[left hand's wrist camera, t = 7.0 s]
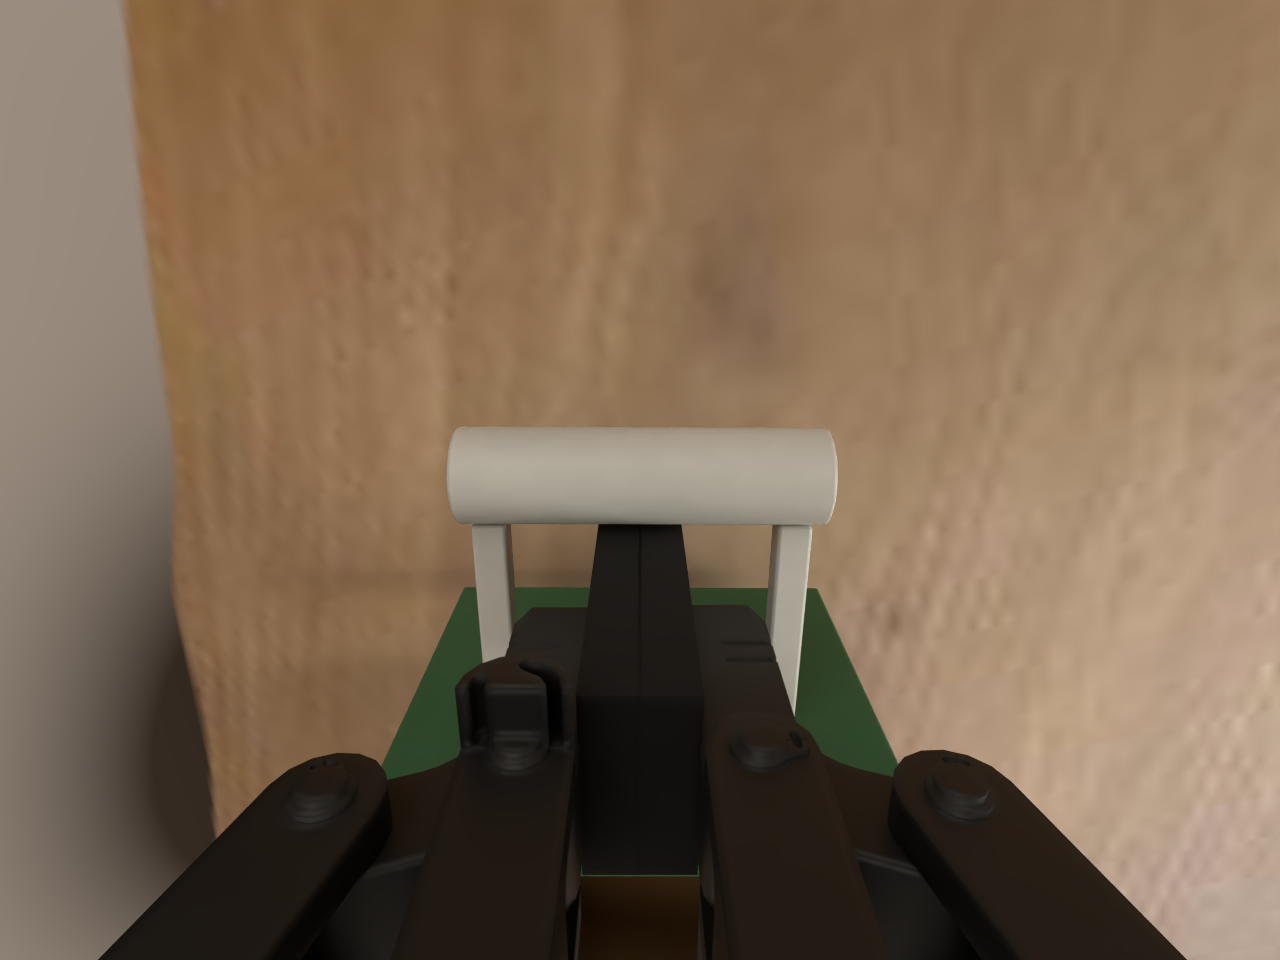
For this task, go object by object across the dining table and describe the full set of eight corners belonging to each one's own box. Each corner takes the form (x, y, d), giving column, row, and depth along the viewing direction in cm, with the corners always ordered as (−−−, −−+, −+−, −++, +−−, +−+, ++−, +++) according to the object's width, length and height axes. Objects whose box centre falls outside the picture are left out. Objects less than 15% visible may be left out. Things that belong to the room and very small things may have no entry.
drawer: (442, 362, 17) (292, 480, 10) (840, 363, 17) (992, 482, 10) (504, 1028, 26) (449, 1367, 18) (773, 1029, 26) (827, 1368, 18)
